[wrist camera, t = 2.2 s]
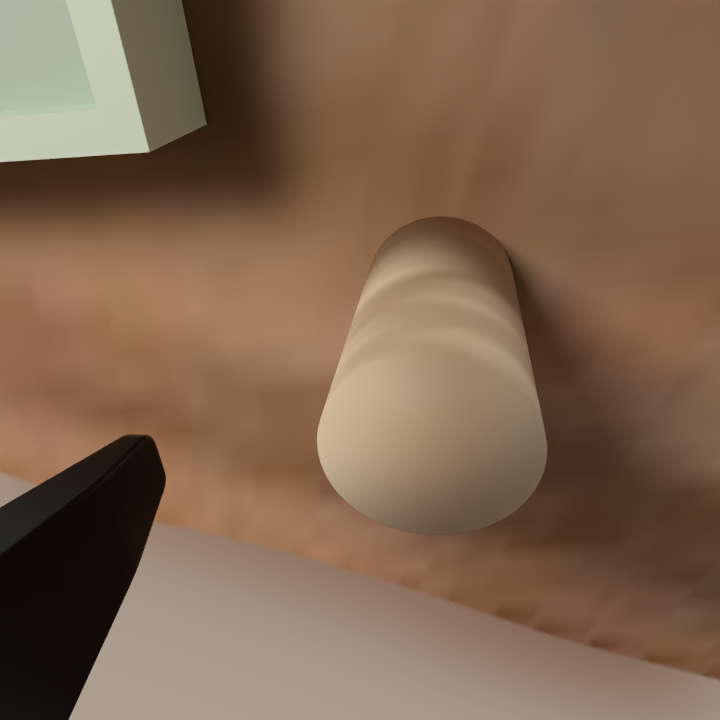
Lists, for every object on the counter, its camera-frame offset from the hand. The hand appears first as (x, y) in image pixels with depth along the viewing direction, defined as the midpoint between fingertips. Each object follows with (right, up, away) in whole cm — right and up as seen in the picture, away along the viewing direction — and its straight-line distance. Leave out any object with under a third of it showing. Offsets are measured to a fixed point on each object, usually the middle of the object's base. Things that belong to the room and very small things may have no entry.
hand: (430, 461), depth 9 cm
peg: (+1, +3, +6) cm, 7 cm away
